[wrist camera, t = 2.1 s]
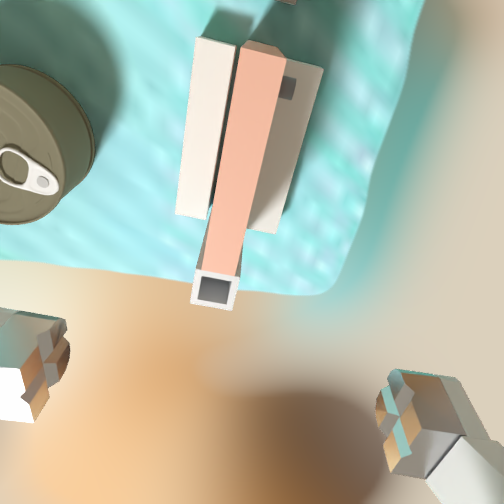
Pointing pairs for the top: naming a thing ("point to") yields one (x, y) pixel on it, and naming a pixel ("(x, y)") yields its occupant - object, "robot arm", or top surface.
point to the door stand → (211, 125)
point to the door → (239, 171)
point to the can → (39, 144)
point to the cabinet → (288, 1)
